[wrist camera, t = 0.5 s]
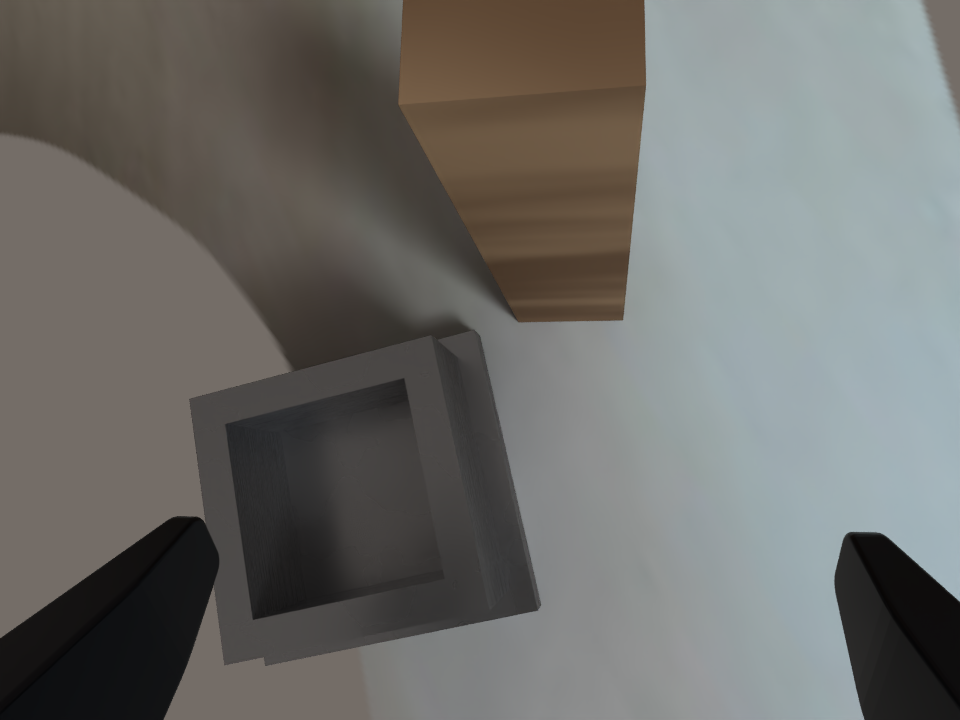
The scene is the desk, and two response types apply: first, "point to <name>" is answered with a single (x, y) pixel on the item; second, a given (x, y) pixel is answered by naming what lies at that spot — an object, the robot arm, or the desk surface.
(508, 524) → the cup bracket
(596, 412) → the desk surface
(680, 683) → the desk surface
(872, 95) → the desk surface
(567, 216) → the block
